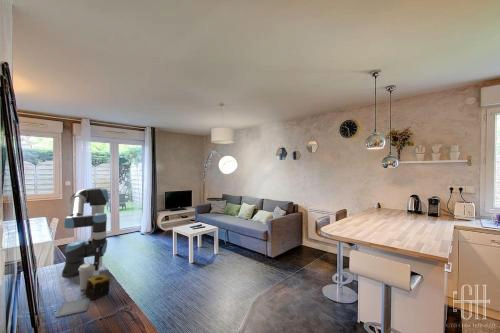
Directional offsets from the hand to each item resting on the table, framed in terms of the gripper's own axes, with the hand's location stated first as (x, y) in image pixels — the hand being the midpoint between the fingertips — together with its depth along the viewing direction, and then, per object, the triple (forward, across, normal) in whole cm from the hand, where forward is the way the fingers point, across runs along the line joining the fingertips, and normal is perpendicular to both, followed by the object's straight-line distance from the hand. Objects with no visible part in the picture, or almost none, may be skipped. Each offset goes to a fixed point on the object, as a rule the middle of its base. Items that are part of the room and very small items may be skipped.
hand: (98, 270), depth 146 cm
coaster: (+16, +10, -10) cm, 21 cm away
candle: (+16, 0, 0) cm, 16 cm away
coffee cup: (+16, -14, -8) cm, 23 cm away
